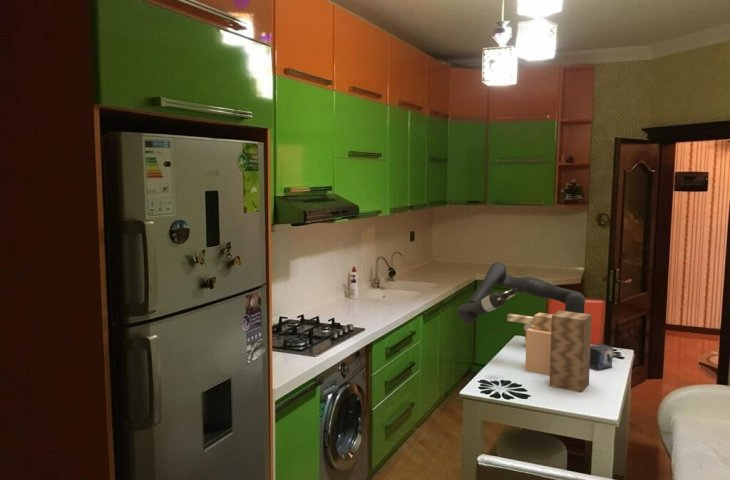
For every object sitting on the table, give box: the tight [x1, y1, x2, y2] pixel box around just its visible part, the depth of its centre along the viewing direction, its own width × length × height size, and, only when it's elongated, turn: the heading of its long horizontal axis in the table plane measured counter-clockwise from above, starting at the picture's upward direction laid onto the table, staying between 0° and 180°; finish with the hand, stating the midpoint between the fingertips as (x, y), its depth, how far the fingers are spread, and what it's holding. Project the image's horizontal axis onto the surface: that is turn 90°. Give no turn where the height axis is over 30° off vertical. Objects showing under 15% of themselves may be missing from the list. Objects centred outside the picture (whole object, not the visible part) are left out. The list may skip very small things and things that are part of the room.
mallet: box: [507, 312, 554, 332], centre depth 279 cm, size 23×7×7 cm, turn 55°
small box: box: [590, 343, 614, 372], centre depth 280 cm, size 11×6×10 cm, turn 117°
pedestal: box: [524, 325, 551, 376], centre depth 277 cm, size 14×12×20 cm
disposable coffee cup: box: [523, 323, 533, 341], centre depth 314 cm, size 10×10×12 cm
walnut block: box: [549, 310, 593, 393], centre depth 256 cm, size 14×12×32 cm
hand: (520, 288), depth 281 cm, fingers open, 8 cm apart
